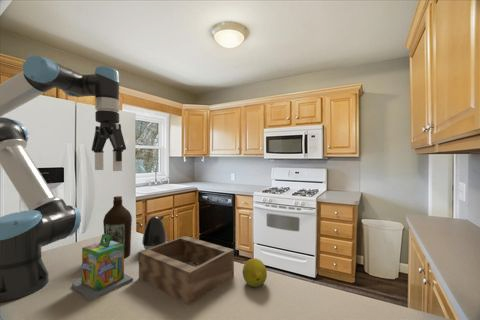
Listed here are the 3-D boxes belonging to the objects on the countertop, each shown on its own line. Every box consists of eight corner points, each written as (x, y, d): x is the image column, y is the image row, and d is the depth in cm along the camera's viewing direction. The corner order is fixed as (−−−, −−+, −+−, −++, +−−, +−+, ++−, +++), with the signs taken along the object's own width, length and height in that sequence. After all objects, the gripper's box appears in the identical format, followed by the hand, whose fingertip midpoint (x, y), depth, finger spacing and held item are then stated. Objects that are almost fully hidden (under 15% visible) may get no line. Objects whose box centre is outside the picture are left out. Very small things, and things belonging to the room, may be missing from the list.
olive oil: (108, 252, 102) (107, 195, 102) (134, 249, 105) (134, 194, 105) (99, 262, 92) (99, 199, 92) (128, 259, 94) (128, 198, 94)
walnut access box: (138, 278, 80) (138, 251, 80) (184, 257, 97) (184, 235, 97) (190, 304, 65) (189, 272, 65) (233, 275, 82) (233, 249, 82)
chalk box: (80, 283, 75) (80, 237, 75) (109, 271, 83) (108, 229, 82) (96, 292, 70) (96, 242, 70) (125, 278, 78) (125, 234, 78)
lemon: (243, 276, 81) (243, 253, 81) (266, 277, 81) (266, 253, 81) (241, 294, 70) (241, 267, 70) (267, 295, 70) (267, 268, 70)
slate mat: (72, 286, 75) (72, 283, 75) (113, 270, 86) (113, 267, 86) (89, 300, 67) (89, 296, 67) (132, 281, 78) (132, 278, 78)
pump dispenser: (171, 248, 107) (171, 215, 107) (152, 256, 98) (152, 220, 98) (156, 244, 112) (156, 212, 112) (137, 251, 103) (137, 217, 103)
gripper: (136, 109, 80) (136, 170, 80) (102, 116, 95) (102, 169, 95) (114, 105, 74) (114, 172, 74) (81, 113, 88) (81, 169, 89)
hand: (107, 170), depth 84 cm, fingers open, 13 cm apart
